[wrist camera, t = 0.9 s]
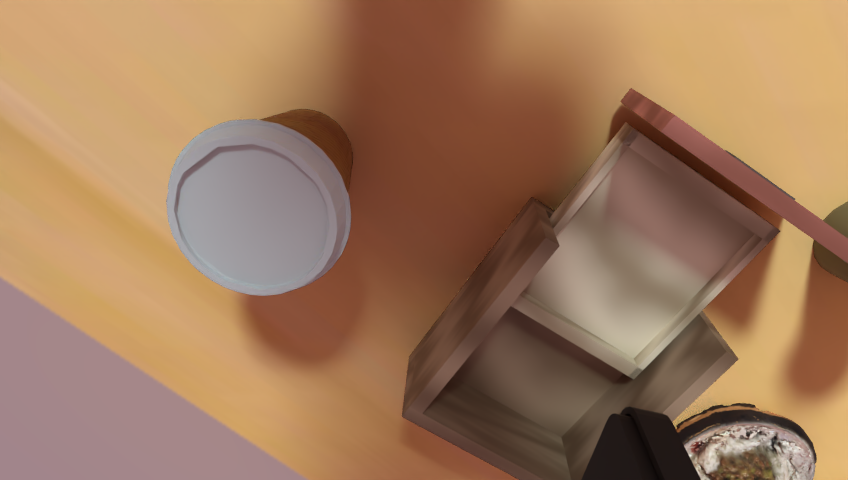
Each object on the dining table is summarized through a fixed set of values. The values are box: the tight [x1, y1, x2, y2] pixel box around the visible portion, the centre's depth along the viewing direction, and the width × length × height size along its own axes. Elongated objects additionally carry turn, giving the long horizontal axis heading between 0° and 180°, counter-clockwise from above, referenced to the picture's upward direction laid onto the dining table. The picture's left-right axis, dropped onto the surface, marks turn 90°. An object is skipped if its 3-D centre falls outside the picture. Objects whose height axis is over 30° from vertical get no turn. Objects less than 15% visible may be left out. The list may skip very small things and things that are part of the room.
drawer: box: [511, 88, 848, 379], centre depth 37 cm, size 16×14×8 cm
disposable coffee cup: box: [166, 109, 353, 296], centre depth 35 cm, size 10×10×12 cm
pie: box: [676, 403, 816, 480], centre depth 48 cm, size 15×15×4 cm
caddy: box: [402, 197, 738, 480], centre depth 42 cm, size 16×15×7 cm
